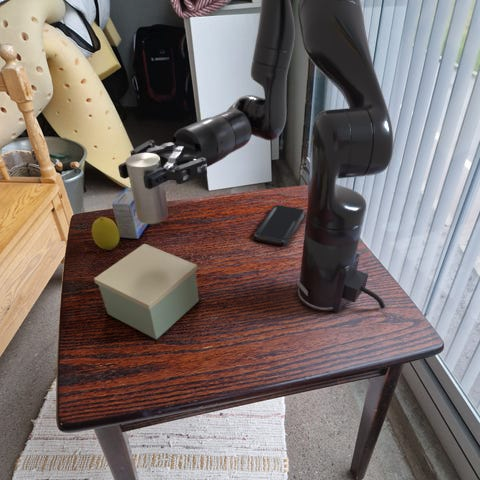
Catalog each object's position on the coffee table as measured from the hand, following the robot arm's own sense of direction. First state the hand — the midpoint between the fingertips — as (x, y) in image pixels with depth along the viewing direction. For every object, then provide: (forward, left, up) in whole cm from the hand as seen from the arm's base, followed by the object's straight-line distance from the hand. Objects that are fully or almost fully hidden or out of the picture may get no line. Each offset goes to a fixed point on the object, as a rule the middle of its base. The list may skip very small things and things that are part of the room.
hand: (133, 177), depth 67 cm
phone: (-9, -33, -23) cm, 41 cm away
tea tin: (0, -3, -8) cm, 8 cm away
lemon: (+18, -5, -23) cm, 30 cm away
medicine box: (+19, -14, -23) cm, 33 cm away
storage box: (-3, +4, -23) cm, 24 cm away
